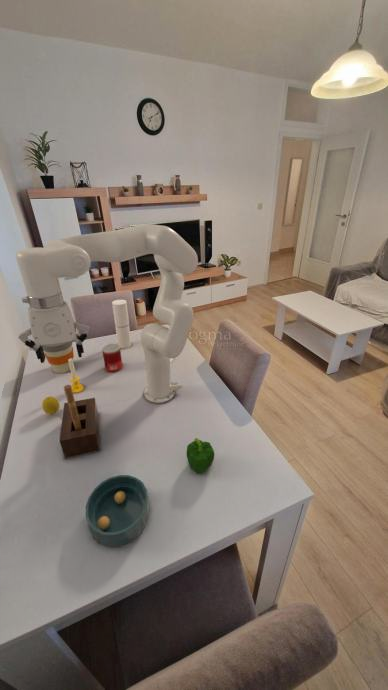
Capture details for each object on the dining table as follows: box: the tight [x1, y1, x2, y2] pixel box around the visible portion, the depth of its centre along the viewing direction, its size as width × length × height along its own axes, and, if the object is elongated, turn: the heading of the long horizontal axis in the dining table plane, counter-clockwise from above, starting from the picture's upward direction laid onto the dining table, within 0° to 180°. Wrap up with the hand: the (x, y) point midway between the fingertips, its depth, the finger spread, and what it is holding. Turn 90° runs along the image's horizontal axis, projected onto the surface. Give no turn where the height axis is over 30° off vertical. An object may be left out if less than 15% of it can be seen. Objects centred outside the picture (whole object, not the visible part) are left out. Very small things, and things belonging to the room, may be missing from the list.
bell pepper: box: [186, 437, 215, 474], centre depth 84 cm, size 8×8×10 cm
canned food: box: [101, 343, 123, 373], centre depth 129 cm, size 8×8×11 cm
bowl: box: [85, 474, 150, 548], centre depth 71 cm, size 15×15×6 cm
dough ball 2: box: [114, 491, 126, 504], centre depth 75 cm, size 3×3×3 cm
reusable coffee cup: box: [41, 341, 74, 374], centre depth 128 cm, size 13×13×15 cm
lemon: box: [41, 395, 60, 415], centre depth 103 cm, size 6×6×8 cm
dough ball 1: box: [97, 516, 110, 530], centre depth 69 cm, size 3×3×3 cm
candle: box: [68, 358, 85, 394], centre depth 114 cm, size 5×5×16 cm
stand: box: [59, 397, 100, 459], centre depth 94 cm, size 10×18×8 cm, turn 18°
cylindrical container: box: [111, 299, 132, 349], centre depth 145 cm, size 7×7×25 cm
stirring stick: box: [63, 384, 82, 431], centre depth 87 cm, size 2×2×24 cm
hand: (62, 357), depth 78 cm, fingers open, 9 cm apart
